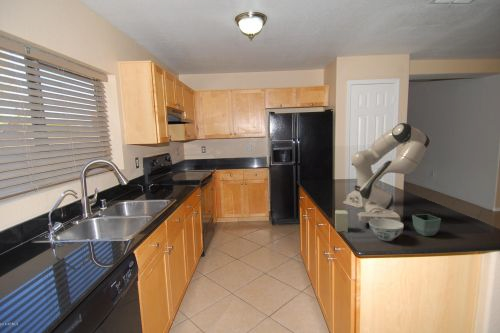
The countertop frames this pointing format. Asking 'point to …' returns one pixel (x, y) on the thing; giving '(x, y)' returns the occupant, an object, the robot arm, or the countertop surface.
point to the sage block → (341, 220)
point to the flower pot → (426, 224)
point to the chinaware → (386, 228)
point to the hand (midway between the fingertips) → (381, 222)
